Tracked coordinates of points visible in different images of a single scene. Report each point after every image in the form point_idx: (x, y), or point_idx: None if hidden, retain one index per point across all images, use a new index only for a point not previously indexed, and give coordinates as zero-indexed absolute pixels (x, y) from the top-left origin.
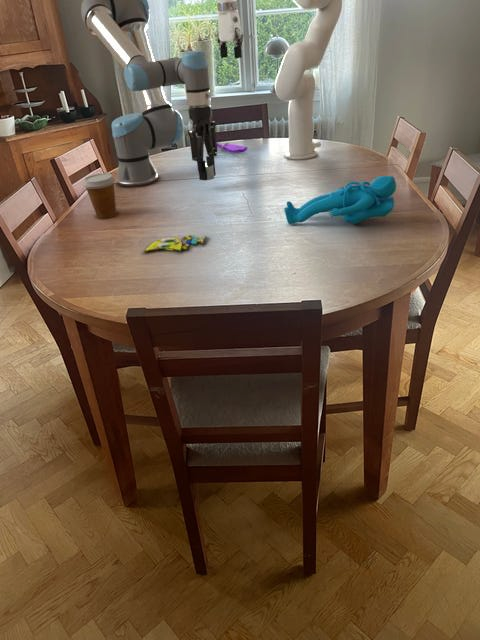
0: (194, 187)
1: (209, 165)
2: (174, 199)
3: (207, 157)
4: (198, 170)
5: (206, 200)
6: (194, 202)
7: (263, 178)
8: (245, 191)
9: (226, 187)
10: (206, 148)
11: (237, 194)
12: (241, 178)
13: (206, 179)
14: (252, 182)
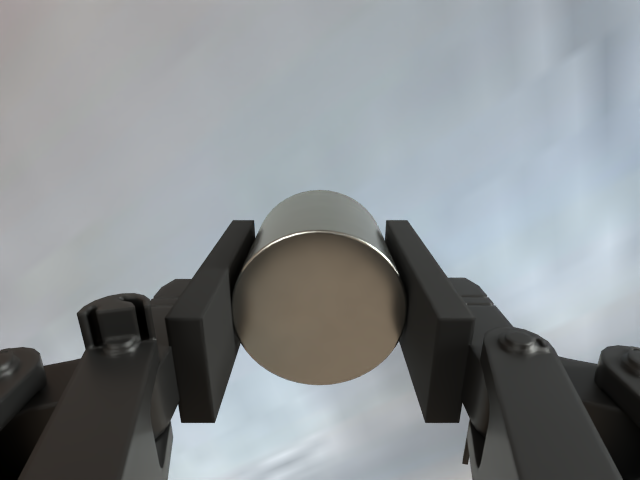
0: (316, 79)
1: (324, 354)
2: (4, 96)
3: (430, 333)
4: (171, 284)
5: None
6: (44, 281)
7: None
8: (340, 450)
9: None
10: (504, 447)
11: (280, 436)
12: (590, 321)
13: None
14: None
